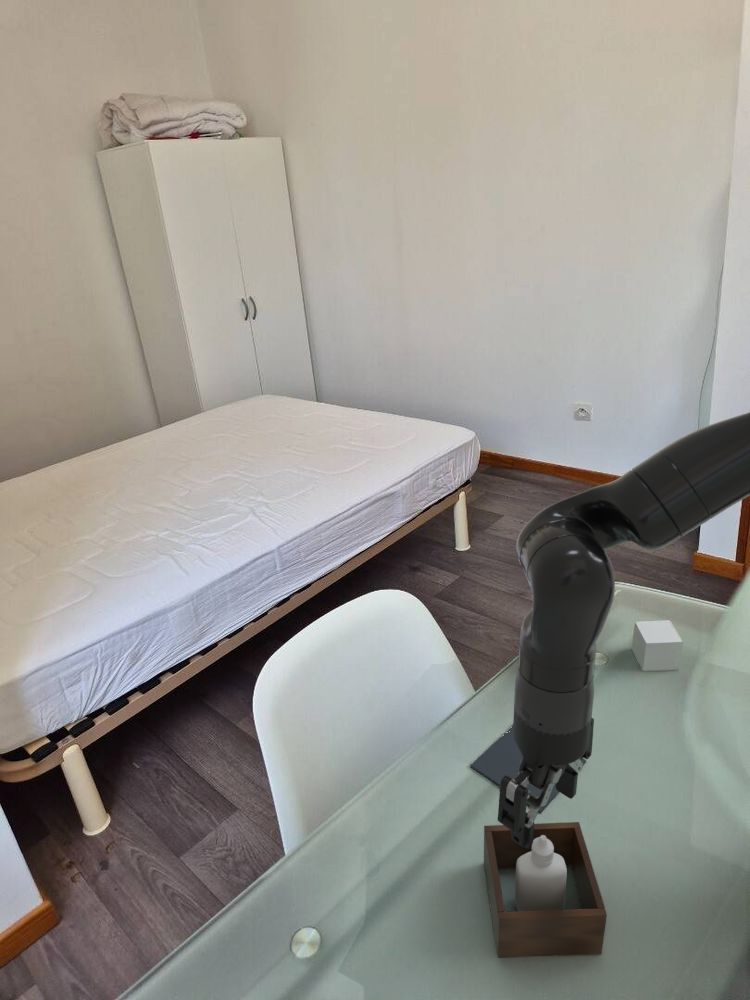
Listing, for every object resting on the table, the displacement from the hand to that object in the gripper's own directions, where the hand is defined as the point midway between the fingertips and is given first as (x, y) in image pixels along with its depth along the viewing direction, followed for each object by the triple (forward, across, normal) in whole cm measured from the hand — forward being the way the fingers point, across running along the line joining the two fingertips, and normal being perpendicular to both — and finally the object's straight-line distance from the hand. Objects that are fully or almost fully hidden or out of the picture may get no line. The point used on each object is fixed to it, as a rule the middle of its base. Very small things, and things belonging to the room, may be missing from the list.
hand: (544, 816), depth 75 cm
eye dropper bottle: (+16, 0, 0) cm, 16 cm away
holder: (+15, 0, 0) cm, 16 cm away
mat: (+15, +17, +13) cm, 26 cm away
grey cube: (+15, +51, +10) cm, 54 cm away
